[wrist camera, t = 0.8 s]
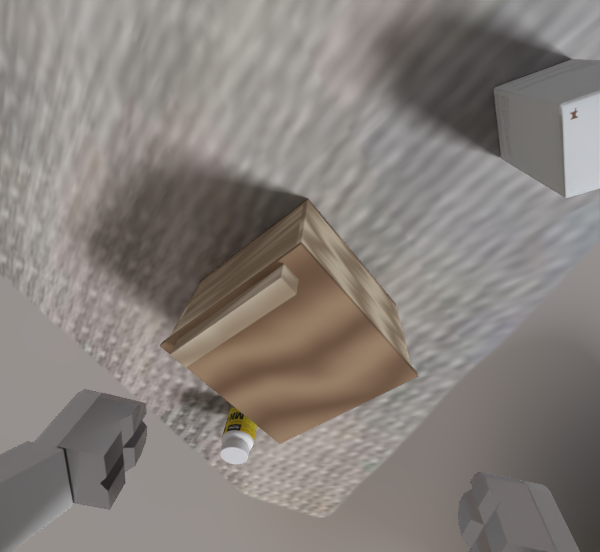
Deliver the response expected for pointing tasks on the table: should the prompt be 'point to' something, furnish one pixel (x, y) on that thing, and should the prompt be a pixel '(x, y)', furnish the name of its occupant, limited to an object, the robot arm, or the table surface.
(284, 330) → the lid
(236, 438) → the supplement bottle
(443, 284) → the table surface
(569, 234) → the table surface
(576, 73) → the supplement box
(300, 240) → the box
